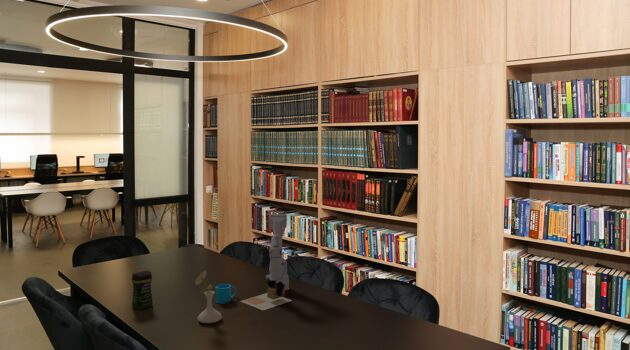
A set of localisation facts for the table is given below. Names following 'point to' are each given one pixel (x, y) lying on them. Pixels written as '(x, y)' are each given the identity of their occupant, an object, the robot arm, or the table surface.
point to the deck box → (274, 292)
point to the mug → (224, 293)
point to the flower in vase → (208, 303)
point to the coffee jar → (142, 290)
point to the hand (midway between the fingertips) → (276, 294)
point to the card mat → (265, 301)
